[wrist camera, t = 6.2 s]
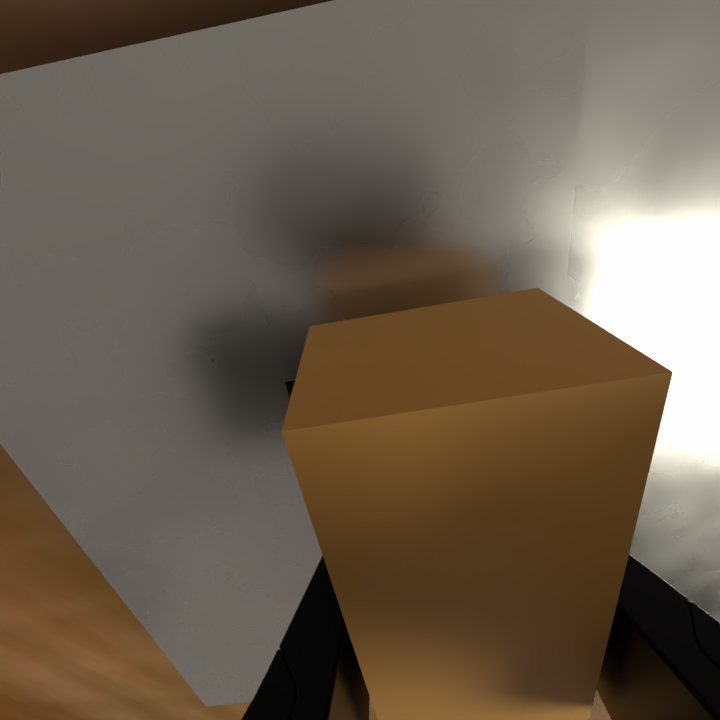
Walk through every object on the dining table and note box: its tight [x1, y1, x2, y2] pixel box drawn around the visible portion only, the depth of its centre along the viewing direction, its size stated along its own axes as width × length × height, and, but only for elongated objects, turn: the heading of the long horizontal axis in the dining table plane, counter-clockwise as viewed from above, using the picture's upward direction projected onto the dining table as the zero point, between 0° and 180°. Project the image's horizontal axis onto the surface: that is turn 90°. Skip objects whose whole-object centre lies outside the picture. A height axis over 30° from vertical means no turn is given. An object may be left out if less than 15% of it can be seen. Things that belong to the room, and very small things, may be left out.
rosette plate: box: [0, 0, 720, 707], centre depth 12 cm, size 20×20×5 cm
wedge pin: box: [281, 288, 673, 720], centre depth 9 cm, size 4×11×7 cm, turn 10°
